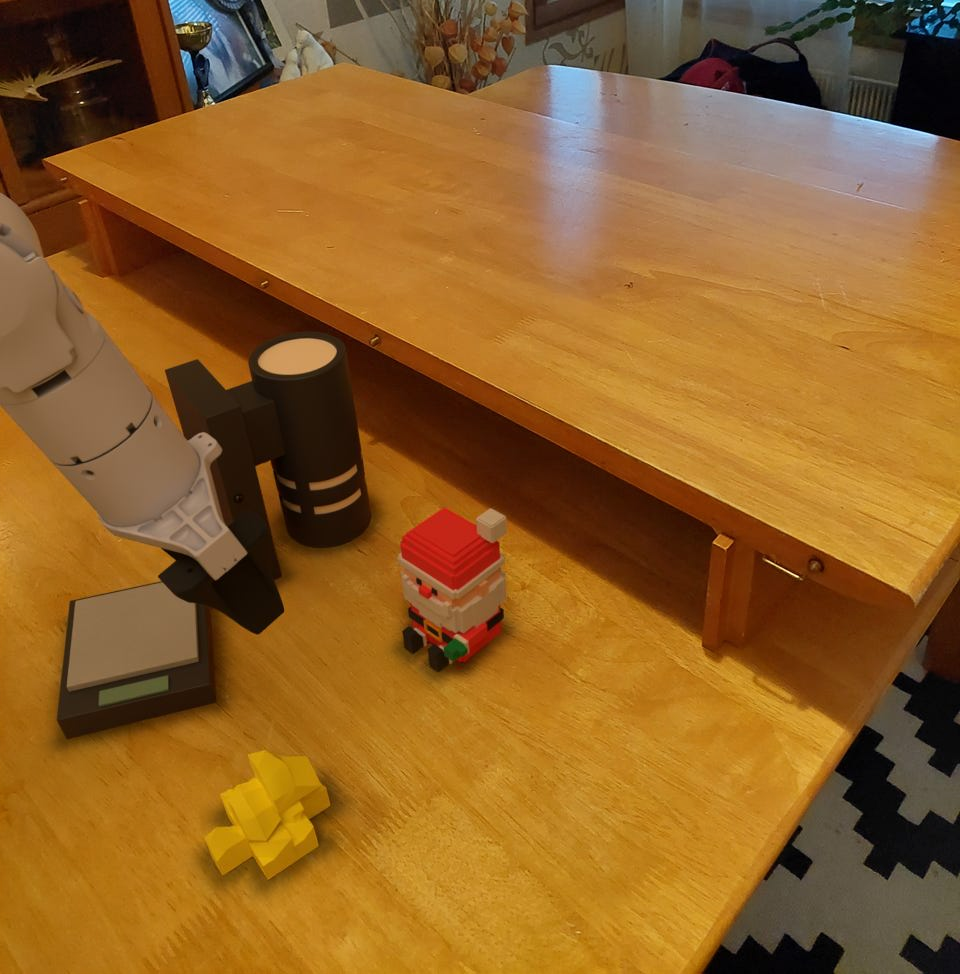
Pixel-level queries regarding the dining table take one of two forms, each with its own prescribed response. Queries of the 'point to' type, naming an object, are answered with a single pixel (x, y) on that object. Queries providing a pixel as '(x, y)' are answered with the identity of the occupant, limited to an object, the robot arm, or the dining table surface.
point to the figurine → (453, 584)
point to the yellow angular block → (270, 815)
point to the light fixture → (283, 437)
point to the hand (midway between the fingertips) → (236, 589)
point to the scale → (134, 659)
